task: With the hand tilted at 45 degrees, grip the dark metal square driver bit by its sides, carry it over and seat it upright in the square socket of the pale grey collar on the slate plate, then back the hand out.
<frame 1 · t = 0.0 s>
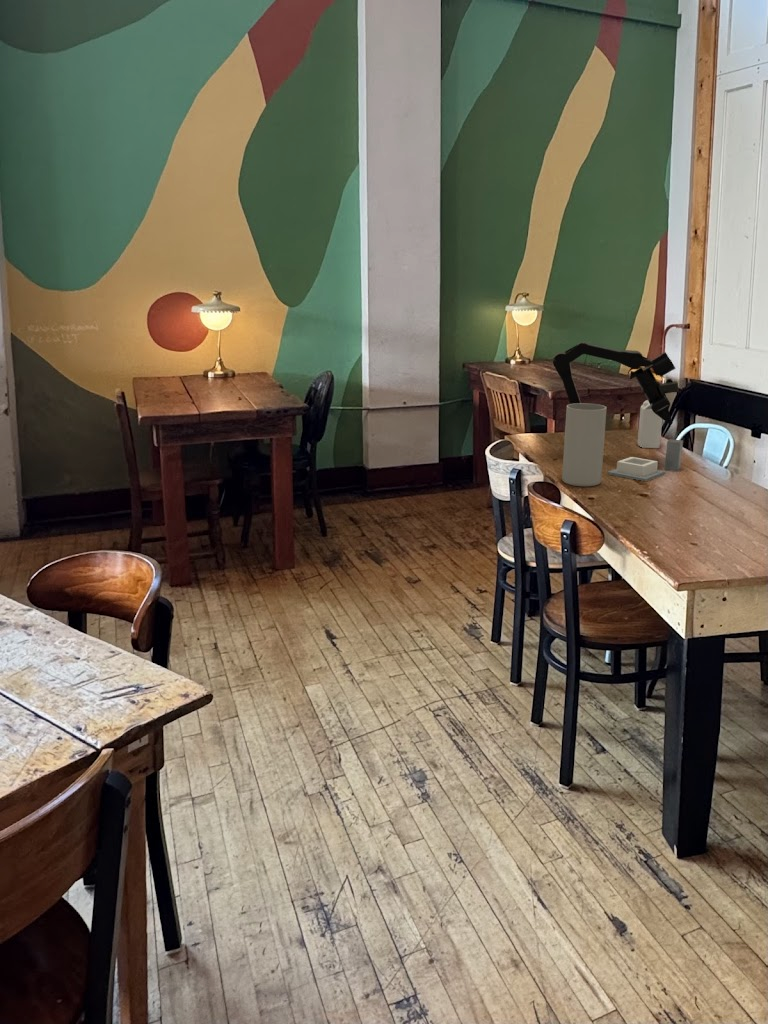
hand: (670, 421, 312), 15 cm above the table, tool tilted 35°, fingers open, 9 cm apart
square bit: (672, 469, 307), on the table
cylinder vase: (581, 482, 290), on the table
milk carton: (648, 447, 341), on the table
socket block: (636, 474, 300), on the table
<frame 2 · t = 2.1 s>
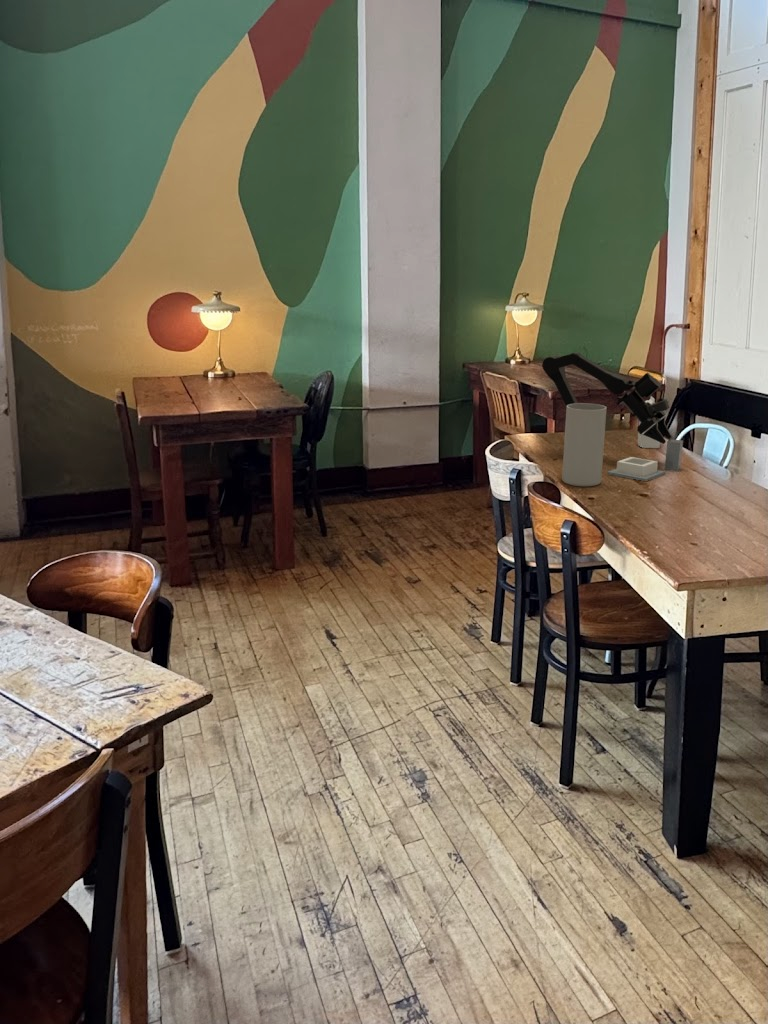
hand: (667, 440, 305), 10 cm above the table, tool tilted 45°, fingers open, 9 cm apart
nothing on the table moved.
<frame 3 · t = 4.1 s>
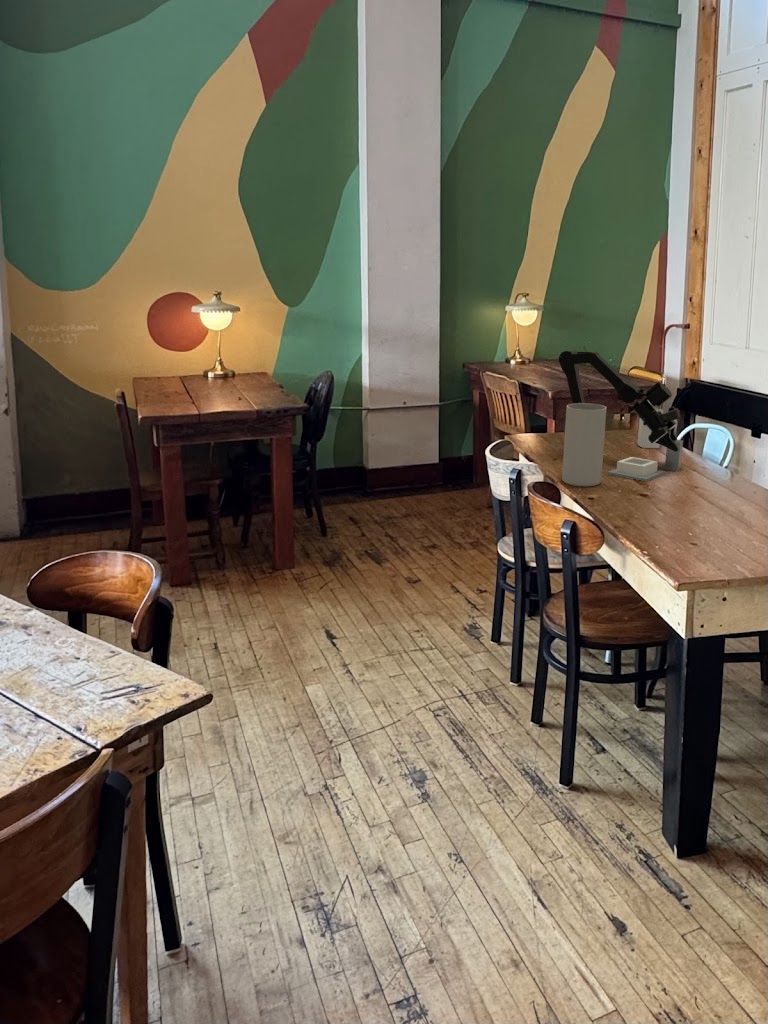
hand: (678, 449, 304), 7 cm above the table, tool tilted 45°, fingers closed on square bit, 4 cm apart
square bit: (672, 469, 307), on the table, touching gripper
everything else where it was.
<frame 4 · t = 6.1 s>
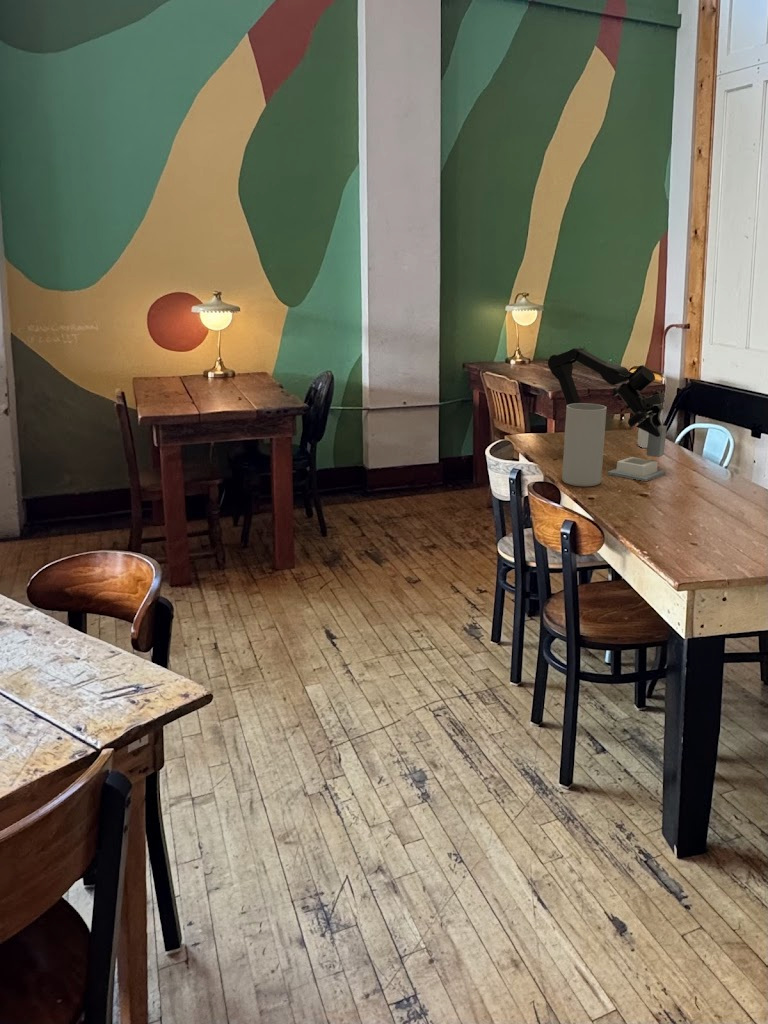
hand: (661, 435, 297), 13 cm above the table, tool tilted 45°, fingers closed on square bit, 4 cm apart
square bit: (654, 455, 300), point 6 cm above the table, touching gripper
everything else where it was.
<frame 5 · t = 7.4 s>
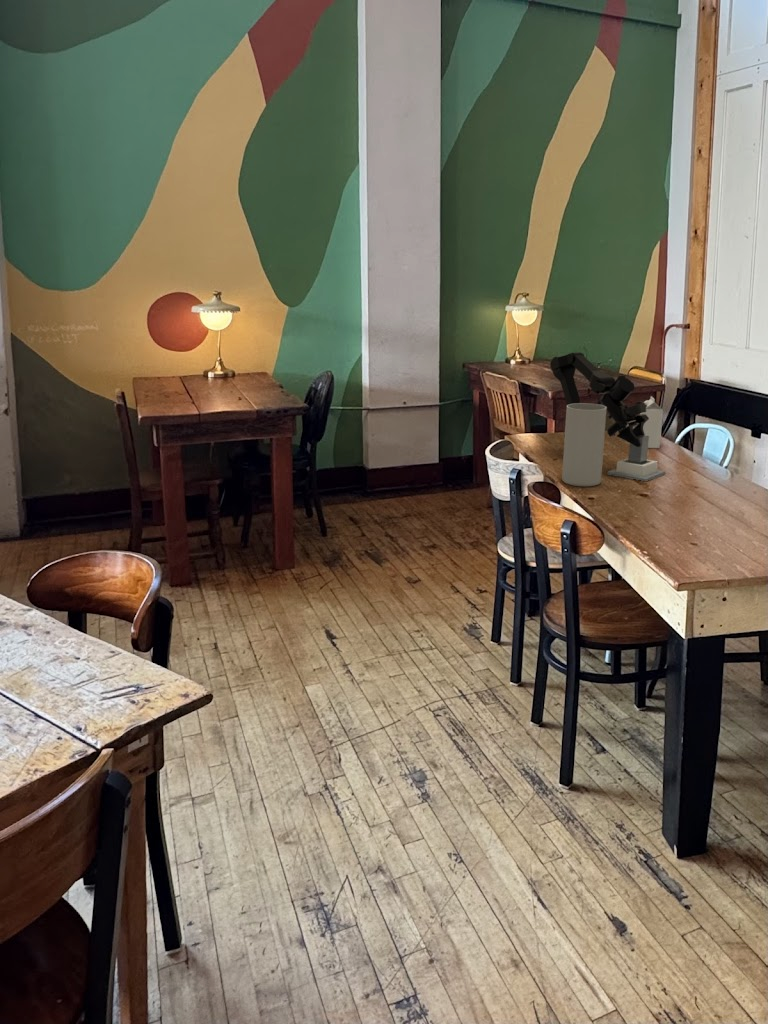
hand: (642, 445, 296), 10 cm above the table, tool tilted 45°, fingers closed on square bit, 4 cm apart
square bit: (637, 465, 299), point 3 cm above the table, touching gripper
everything else where it was.
when the fingers open (9 cm above the table, at t = 8.4 s): square bit drops 1 cm, resting on socket block.
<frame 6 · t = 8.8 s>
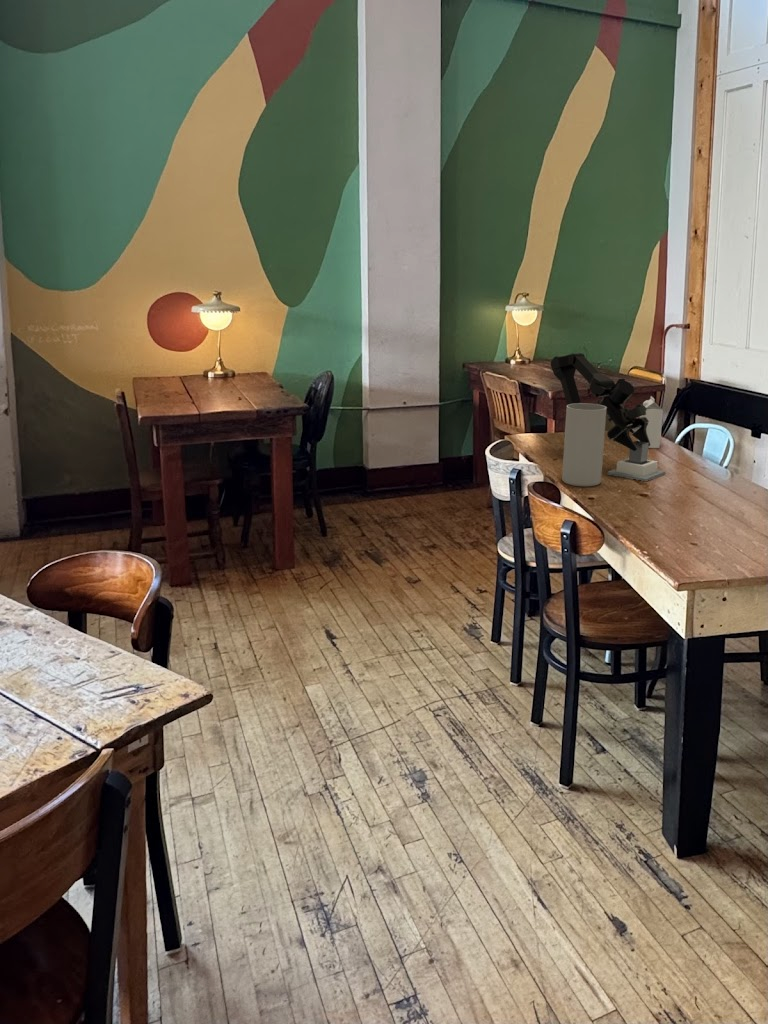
hand: (642, 448, 296), 9 cm above the table, tool tilted 45°, fingers open, 9 cm apart
square bit: (636, 471, 299), point 1 cm above the table, touching socket block
everything else where it was.
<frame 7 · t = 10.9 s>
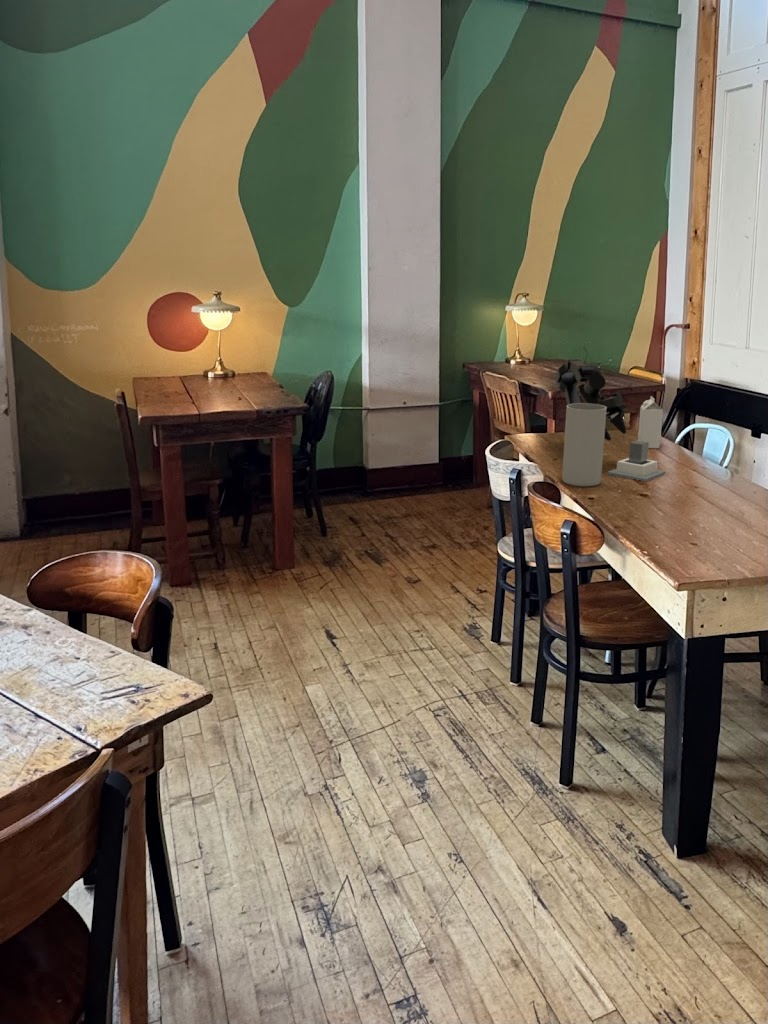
hand: (617, 436, 303), 12 cm above the table, tool tilted 40°, fingers open, 9 cm apart
nothing on the table moved.
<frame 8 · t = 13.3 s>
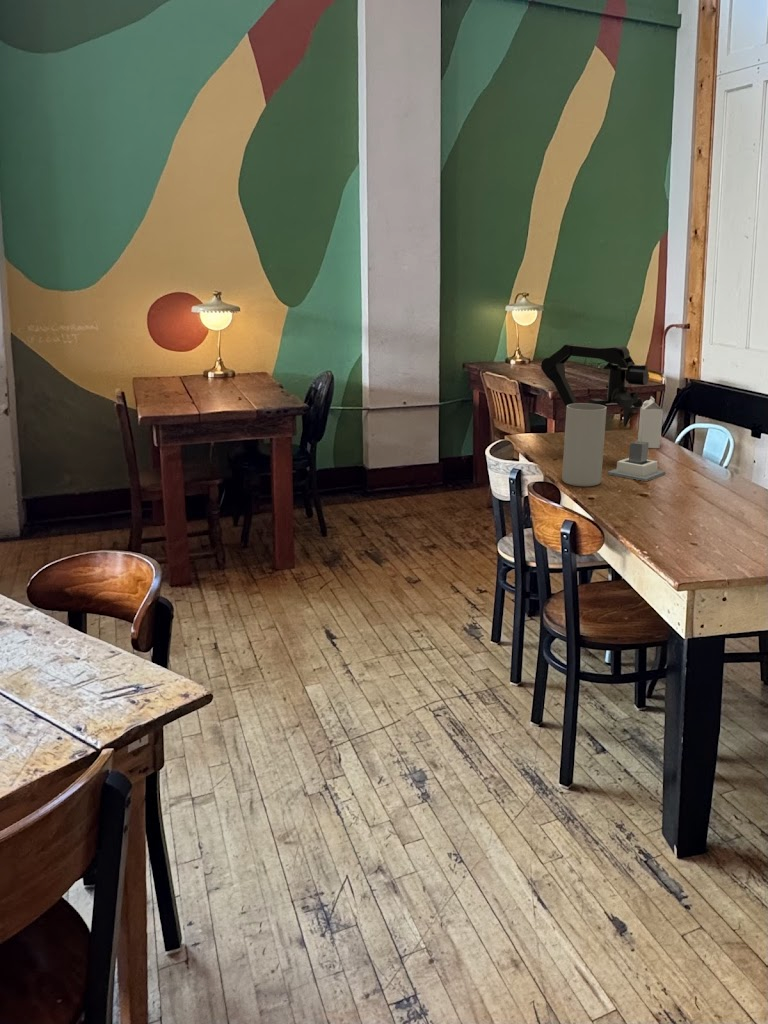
hand: (613, 427, 311), 13 cm above the table, tool pointing down, fingers open, 9 cm apart
nothing on the table moved.
at the end: square bit 0.1 cm off-centre on the socket block, point 1.0 cm above the socket block's base; square bit tilted 0°; the gripper is holding nothing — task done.
